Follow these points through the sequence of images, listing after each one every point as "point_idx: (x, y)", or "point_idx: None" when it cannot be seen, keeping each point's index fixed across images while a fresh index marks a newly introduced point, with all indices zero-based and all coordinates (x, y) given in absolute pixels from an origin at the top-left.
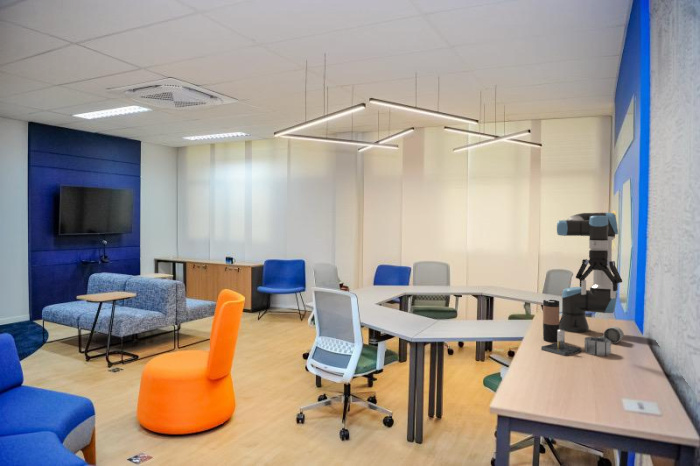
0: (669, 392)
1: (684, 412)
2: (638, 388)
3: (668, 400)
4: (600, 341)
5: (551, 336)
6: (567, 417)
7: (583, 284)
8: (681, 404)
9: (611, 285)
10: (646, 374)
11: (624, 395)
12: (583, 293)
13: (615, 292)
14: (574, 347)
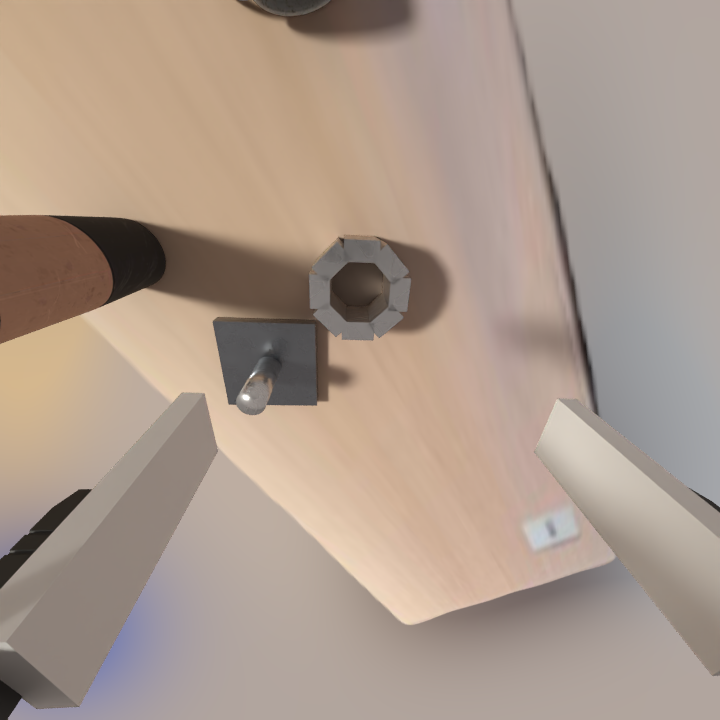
0: None
1: None
2: (537, 473)
3: None
4: (383, 315)
5: (144, 286)
6: (482, 600)
7: (133, 581)
8: None
9: (691, 631)
10: (539, 382)
11: (523, 514)
12: (209, 449)
13: (635, 450)
14: (294, 330)
